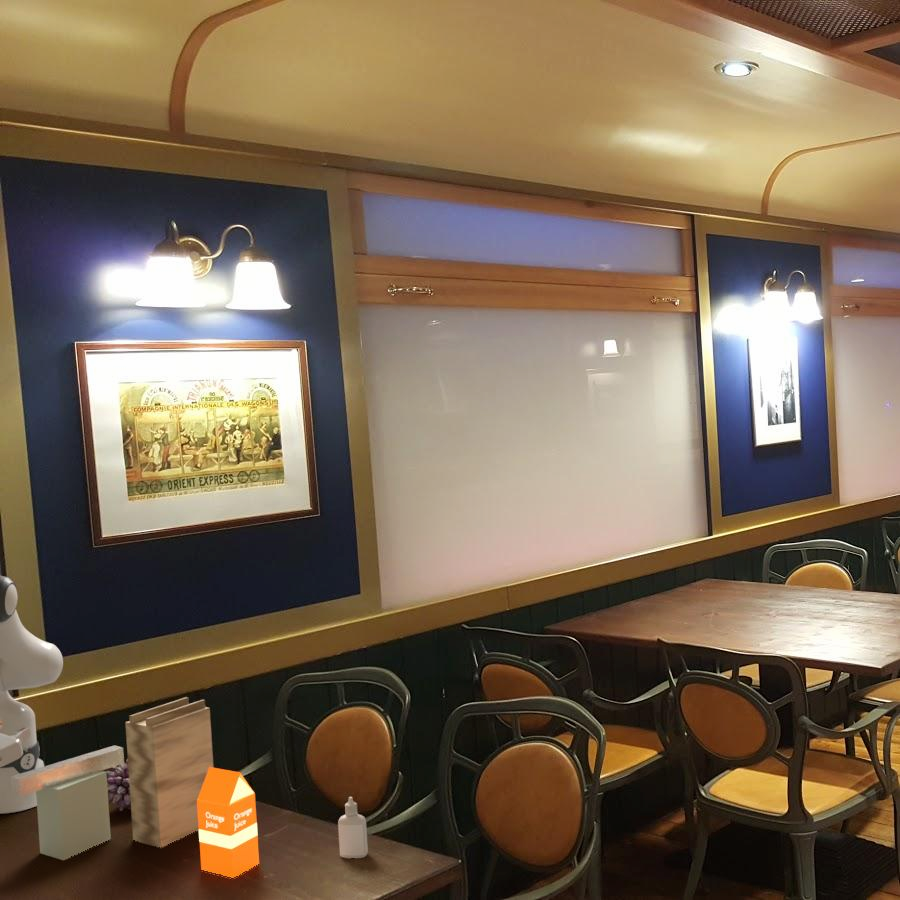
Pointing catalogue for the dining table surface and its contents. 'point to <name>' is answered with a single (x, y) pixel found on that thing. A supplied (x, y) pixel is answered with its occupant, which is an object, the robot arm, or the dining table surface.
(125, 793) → the flower
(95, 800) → the sage block
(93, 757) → the steel bar
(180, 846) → the dining table surface
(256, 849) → the orange juice
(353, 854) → the eye dropper bottle
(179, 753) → the oak stand
